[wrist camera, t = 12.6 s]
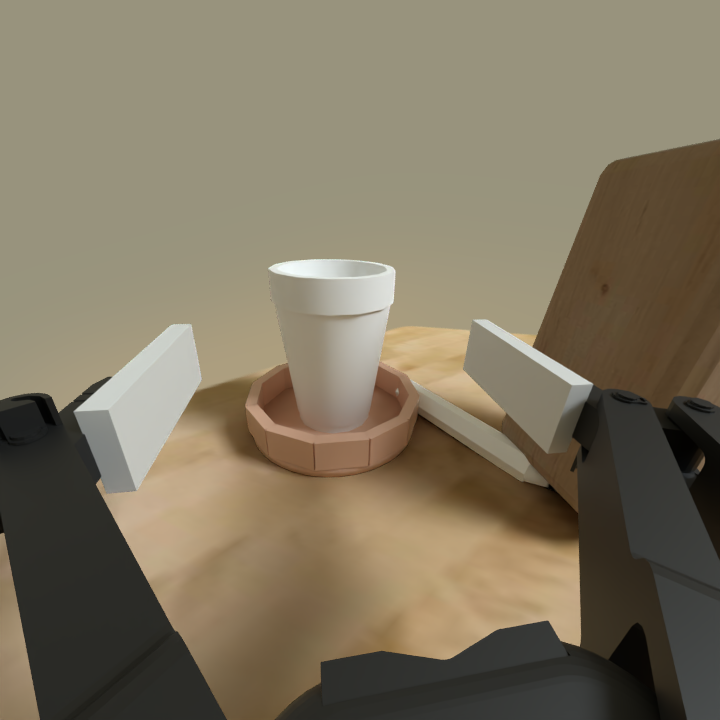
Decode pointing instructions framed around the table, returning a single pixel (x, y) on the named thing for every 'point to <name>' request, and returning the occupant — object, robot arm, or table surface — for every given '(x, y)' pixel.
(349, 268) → the foam cup
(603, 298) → the wooden block
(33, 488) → the robot arm
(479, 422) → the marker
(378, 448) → the bowl
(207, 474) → the table surface
